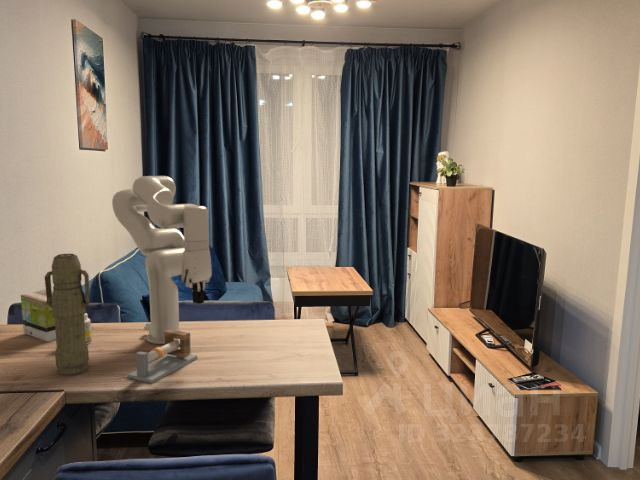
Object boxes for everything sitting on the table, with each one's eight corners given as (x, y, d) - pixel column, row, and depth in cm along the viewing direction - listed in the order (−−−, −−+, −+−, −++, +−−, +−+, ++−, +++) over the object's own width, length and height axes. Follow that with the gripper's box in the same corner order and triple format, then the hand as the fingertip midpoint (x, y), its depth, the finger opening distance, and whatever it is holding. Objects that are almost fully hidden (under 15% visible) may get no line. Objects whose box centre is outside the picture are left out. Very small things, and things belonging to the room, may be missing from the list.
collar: (165, 353, 165) (164, 331, 164) (170, 351, 167) (169, 329, 166) (184, 357, 162) (183, 335, 161) (189, 354, 164) (188, 332, 163)
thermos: (55, 365, 160) (47, 252, 154) (96, 363, 162) (90, 251, 157) (46, 377, 151) (38, 258, 146) (90, 374, 154) (83, 257, 148)
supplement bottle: (74, 341, 181) (72, 312, 179) (91, 339, 183) (90, 311, 181) (73, 346, 176) (71, 317, 174) (91, 344, 178) (89, 315, 176)
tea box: (22, 334, 187) (19, 294, 185) (49, 327, 196) (46, 288, 193) (47, 342, 179) (44, 300, 177) (74, 334, 188) (71, 294, 186)
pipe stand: (127, 377, 152) (126, 351, 151) (176, 353, 171) (175, 330, 170) (152, 383, 148) (151, 357, 147) (198, 357, 168) (198, 334, 166)
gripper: (201, 241, 172) (203, 296, 175) (171, 248, 159) (173, 307, 161) (220, 243, 169) (222, 298, 172) (191, 250, 155) (193, 310, 158)
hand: (198, 302), depth 166 cm, fingers closed
